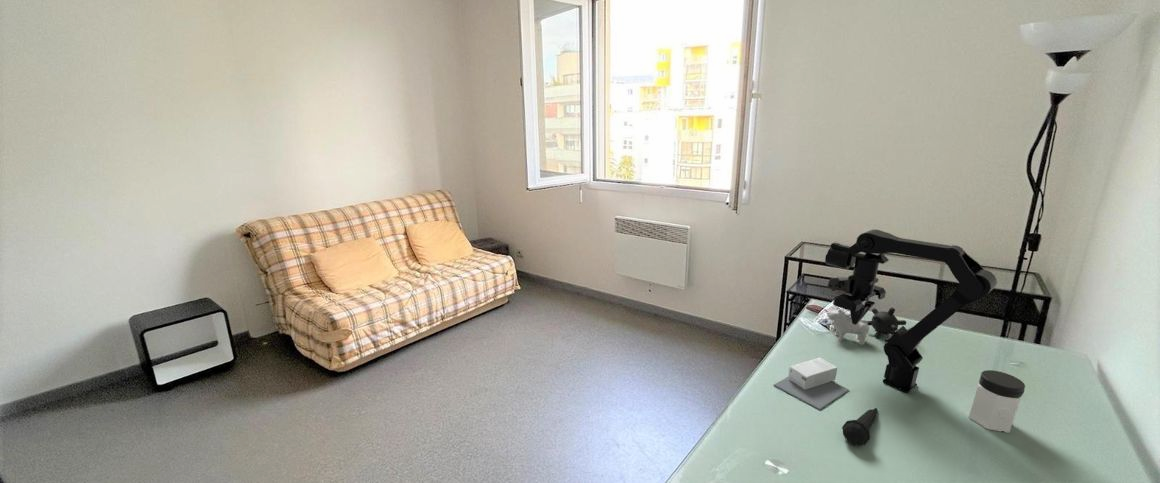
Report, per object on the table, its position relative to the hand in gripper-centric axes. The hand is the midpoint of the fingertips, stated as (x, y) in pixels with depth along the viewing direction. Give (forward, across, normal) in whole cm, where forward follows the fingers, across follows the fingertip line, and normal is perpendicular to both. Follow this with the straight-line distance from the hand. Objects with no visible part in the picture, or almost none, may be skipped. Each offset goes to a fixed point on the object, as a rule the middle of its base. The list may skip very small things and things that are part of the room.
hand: (854, 323), depth 140 cm
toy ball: (+13, -28, -2) cm, 31 cm away
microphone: (+14, +27, +18) cm, 35 cm away
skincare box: (+10, +12, 0) cm, 16 cm away
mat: (+13, +22, +1) cm, 25 cm away
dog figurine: (+13, -15, -8) cm, 22 cm away
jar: (+13, -2, +34) cm, 37 cm away
